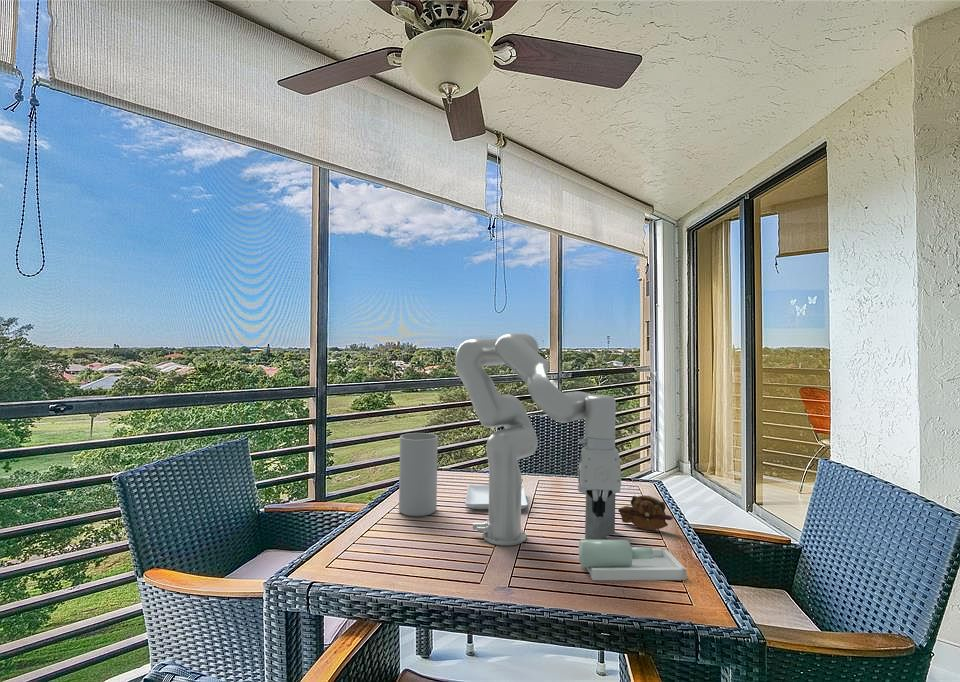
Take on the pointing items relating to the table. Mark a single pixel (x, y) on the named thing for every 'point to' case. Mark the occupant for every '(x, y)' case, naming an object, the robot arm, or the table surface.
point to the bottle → (610, 553)
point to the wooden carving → (645, 513)
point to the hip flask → (599, 519)
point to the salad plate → (485, 497)
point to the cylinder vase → (418, 474)
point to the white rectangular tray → (644, 569)
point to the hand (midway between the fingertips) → (598, 515)
